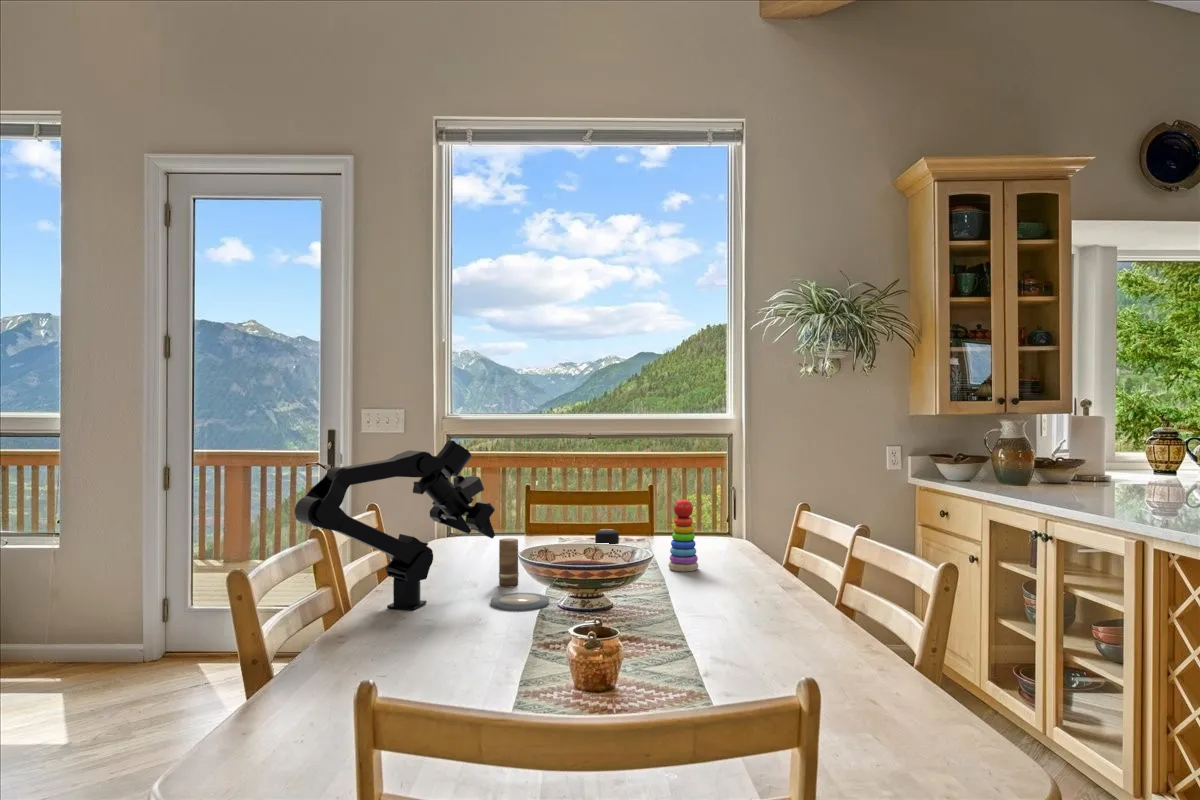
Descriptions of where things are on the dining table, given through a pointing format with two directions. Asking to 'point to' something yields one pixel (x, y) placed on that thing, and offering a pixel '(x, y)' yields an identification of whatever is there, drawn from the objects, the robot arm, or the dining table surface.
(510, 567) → the brown cylinder
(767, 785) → the dining table surface
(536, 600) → the hub plate
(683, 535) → the stacking toy
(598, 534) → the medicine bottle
